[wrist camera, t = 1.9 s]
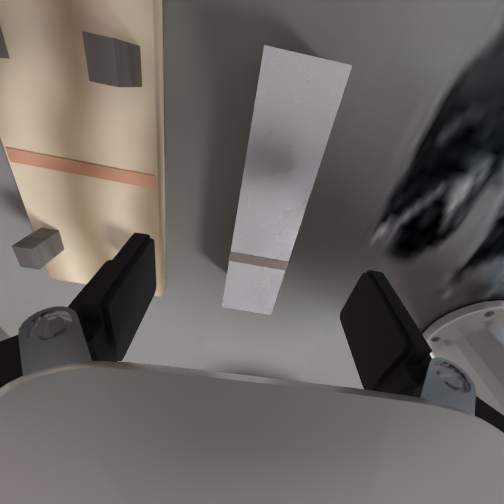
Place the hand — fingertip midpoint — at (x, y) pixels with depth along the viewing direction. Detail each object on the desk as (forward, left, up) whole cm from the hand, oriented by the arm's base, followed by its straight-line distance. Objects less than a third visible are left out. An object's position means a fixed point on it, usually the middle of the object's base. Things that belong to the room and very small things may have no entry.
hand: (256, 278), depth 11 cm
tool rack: (+13, 0, -11) cm, 17 cm away
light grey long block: (-1, 0, -11) cm, 11 cm away
